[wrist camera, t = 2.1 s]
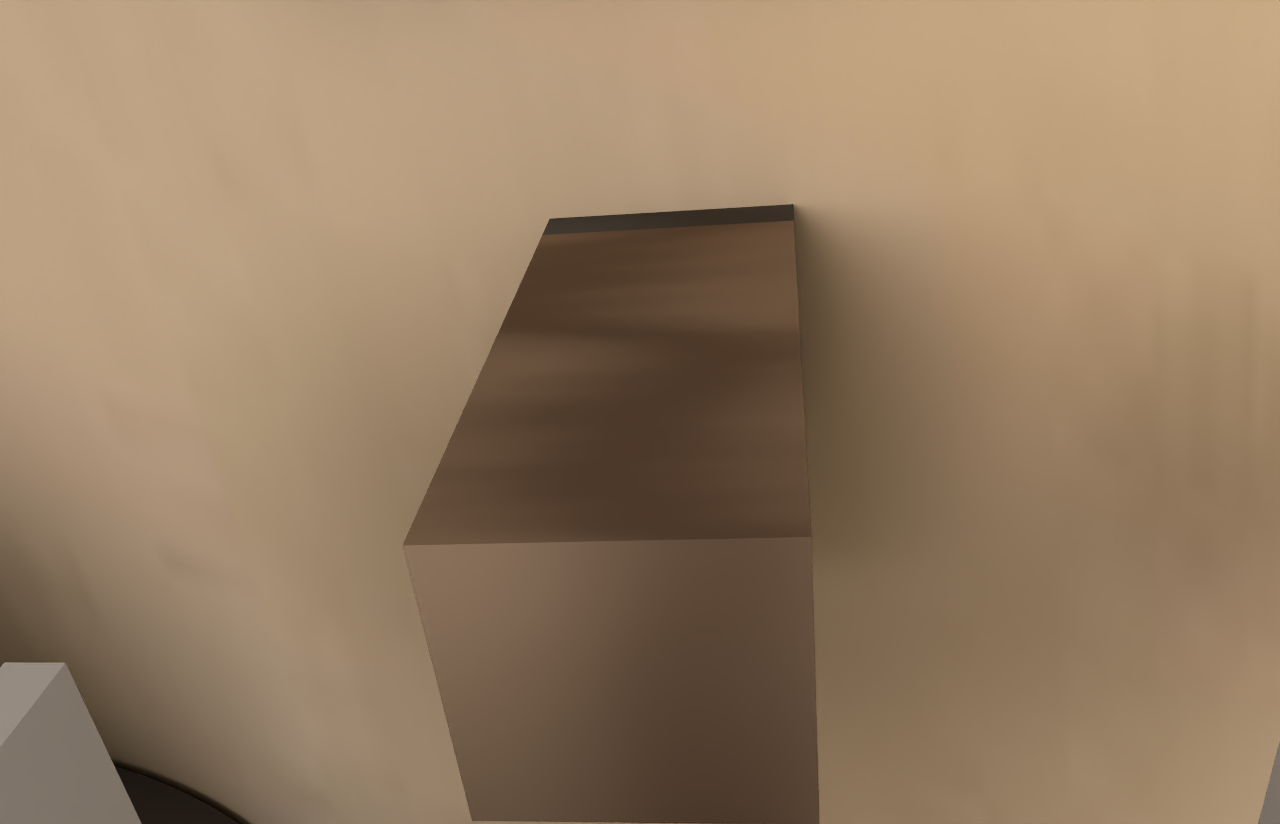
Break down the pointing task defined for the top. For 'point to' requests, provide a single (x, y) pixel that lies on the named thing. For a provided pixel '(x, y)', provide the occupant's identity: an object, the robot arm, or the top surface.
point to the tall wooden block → (632, 534)
